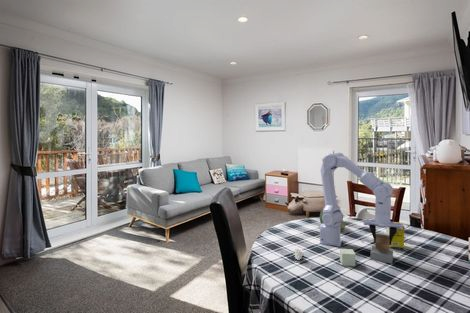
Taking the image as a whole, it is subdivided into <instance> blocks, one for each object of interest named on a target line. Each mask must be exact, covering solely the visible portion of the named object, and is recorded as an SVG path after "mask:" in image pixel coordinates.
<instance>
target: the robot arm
mask: <svg viewBox="0 0 470 313" xmlns="http://www.w3.org/2000/svg"><path fill="white" fill-rule="evenodd" d="M337 168H345V170H348V171H349V172H350V173H352V174H354V175H355V176H357V177H358V178H359V181H360V183H361V184H362V185H363V186H365V187H367V188H368V189H369V190H370V191H371V192H372V193H373V195H374V197H375V202H374V203H375V205H374V206H375V209H374V210H375V212H374V216H375V217H374V219H363V226H368V227H369V230H370V232H371V235H372V239H373V243H374V244H375V243H376V234H377V230H376V229H377V227H381V228H386V227H389V239H390V243H389V245H391V242H392V239H393V237H394V235H395V234H396V232H397V228H398V229H402V230H403V226H404V223H401V222H400V223H395V222H396V221H391V219H392V218H391V214H392V213H391V211H392V210H391V209H392V196H391V195H393V193H394V188H393V186H392V185H391V184H390V183H388V182H385V180H383V179H380V178H378V177H377V176H376V175H375V173H374V172H370V171H364V170H363V169H362V168H361V167H359V166H358V165H357V164H356V163H354V161H352V160H351V159H350V158H349V157H348V156H347V155H344V153H341V152H336V153H328V154H325V156H324V157H322V163H321V167H320V176H321V183H322V190H323V191H322V192H323V197H324V204H325V206H324V207H323V209H322V210H323V216H322V220H323V223H324V224H321V223H320V227H319V244H322V245H328V246H333V247H334V246H335V247H341V246H342V241H343V240H342V239H341V230H342V229H341V221H343V219H344V214H343V212H342V211H341V207H340V206H339V205H338V202H337V195H336V189H335V188H336V186H335V181H334V174H333V173H334V172H335V171H336V170H337Z"/></svg>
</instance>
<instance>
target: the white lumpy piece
mask: <svg viewBox="0 0 470 313" xmlns="http://www.w3.org/2000/svg"><path fill="white" fill-rule="evenodd" d="M294 255H295V256H294V258H295V260H296V259H297V260H296V261H301V260H302V258H303V257H302V256H304V252H303V250H302V249H299V248H298V249H295V250H294ZM300 259H301V260H300Z"/></svg>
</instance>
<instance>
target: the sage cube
mask: <svg viewBox="0 0 470 313" xmlns="http://www.w3.org/2000/svg"><path fill="white" fill-rule="evenodd" d="M339 262H340V264H341V266H346V267H356V253H355V251H354V250H353V249H351V248H339Z"/></svg>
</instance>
